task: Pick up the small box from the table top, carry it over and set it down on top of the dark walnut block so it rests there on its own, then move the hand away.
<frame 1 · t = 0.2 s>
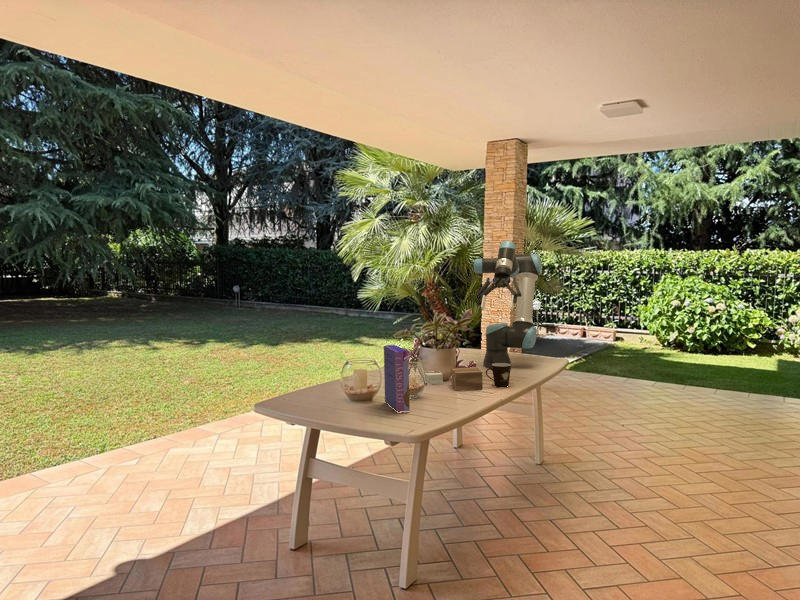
hand: (496, 308, 254), 36 cm above the table, tool tilted 35°, fingers open, 13 cm apart
cereal box: (396, 408, 222), on the table
small box: (433, 383, 266), on the table
coffee mug: (498, 386, 256), on the table
walnut block: (466, 387, 255), on the table
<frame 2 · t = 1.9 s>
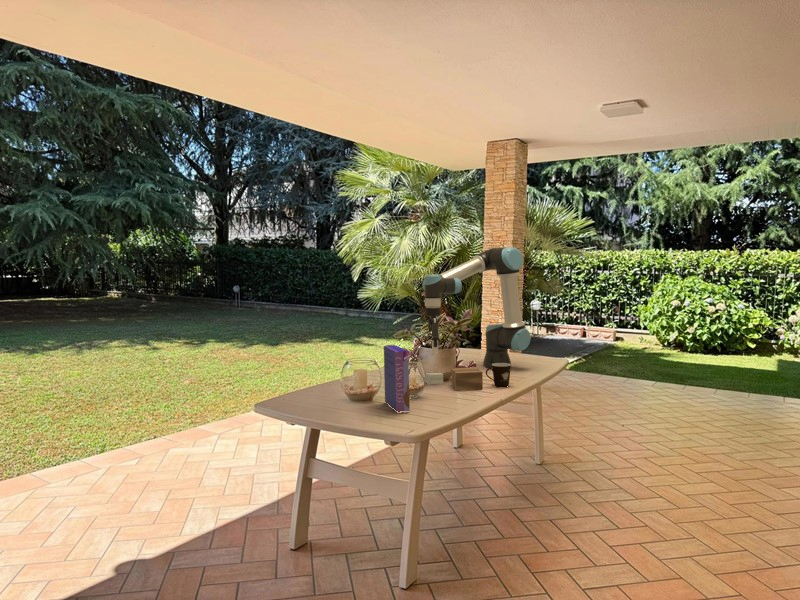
hand: (433, 351, 265), 15 cm above the table, tool pointing down, fingers open, 13 cm apart
nothing on the table moved.
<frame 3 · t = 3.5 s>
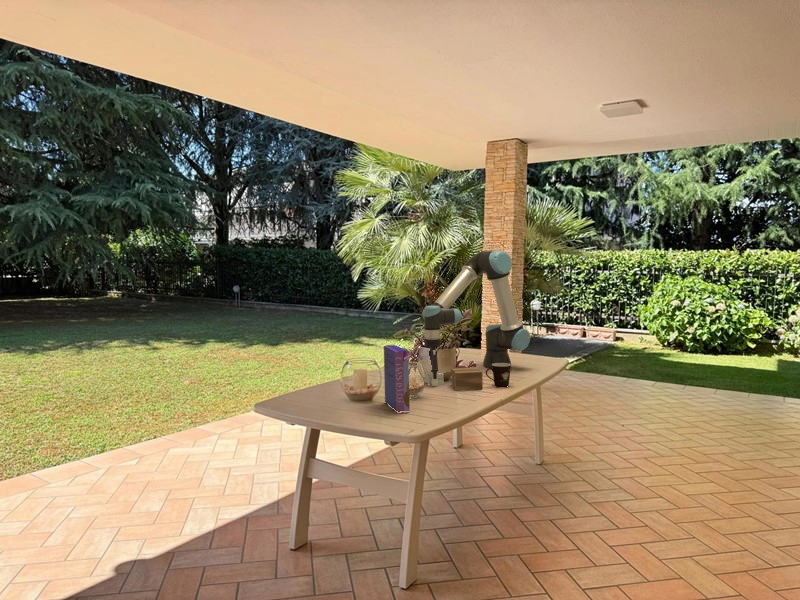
hand: (432, 382, 266), 0 cm above the table, tool pointing down, fingers open, 13 cm apart
nothing on the table moved.
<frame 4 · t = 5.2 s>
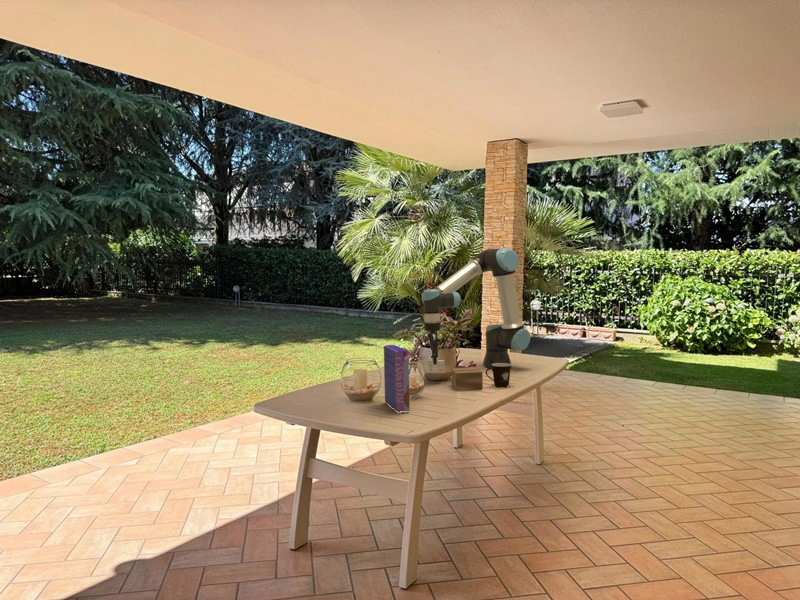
hand: (433, 369, 266), 7 cm above the table, tool pointing down, fingers closed on small box, 9 cm apart
small box: (434, 370, 266), point 6 cm above the table, touching gripper
everything else where it was.
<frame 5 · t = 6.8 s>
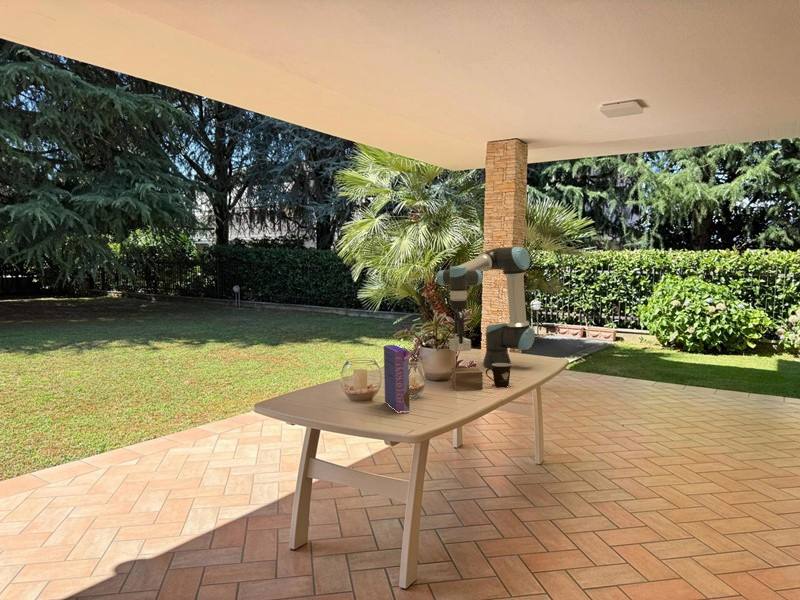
hand: (459, 349, 256), 17 cm above the table, tool pointing down, fingers closed on small box, 9 cm apart
small box: (460, 350, 256), point 17 cm above the table, touching gripper
everything else where it was.
when the fingers open (9 cm above the table, at t = 8.6 s): small box stays where it is, resting on walnut block.
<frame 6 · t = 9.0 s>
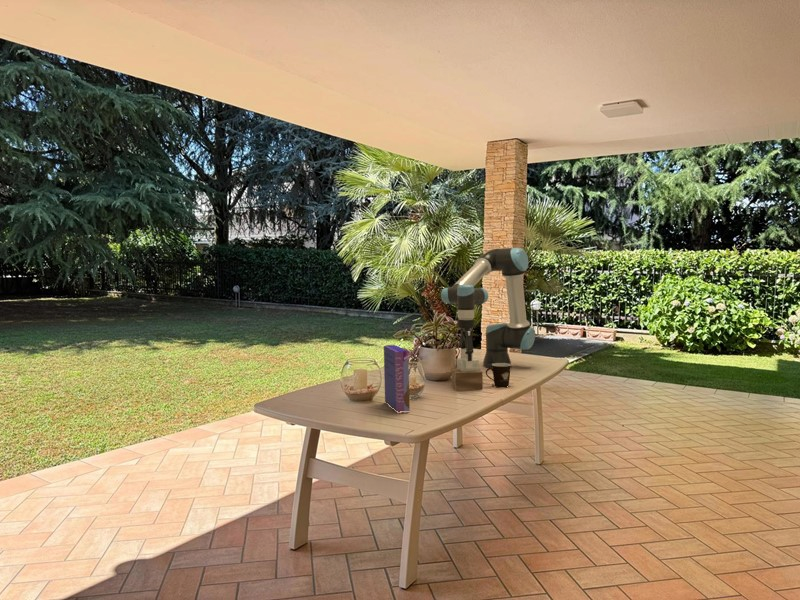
hand: (466, 365, 254), 10 cm above the table, tool pointing down, fingers open, 13 cm apart
small box: (467, 370, 255), point 8 cm above the table, touching walnut block
everything else where it was.
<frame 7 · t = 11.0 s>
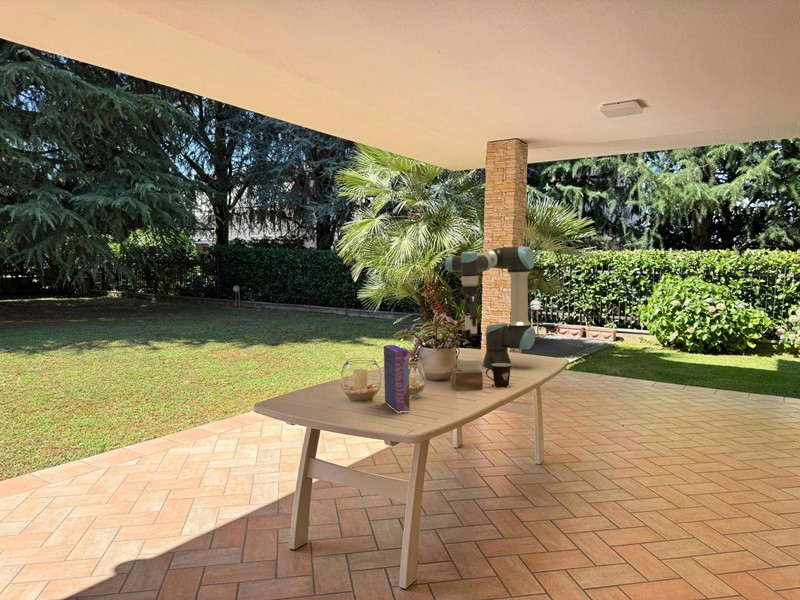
hand: (470, 331, 257), 25 cm above the table, tool pointing down, fingers open, 13 cm apart
nothing on the table moved.
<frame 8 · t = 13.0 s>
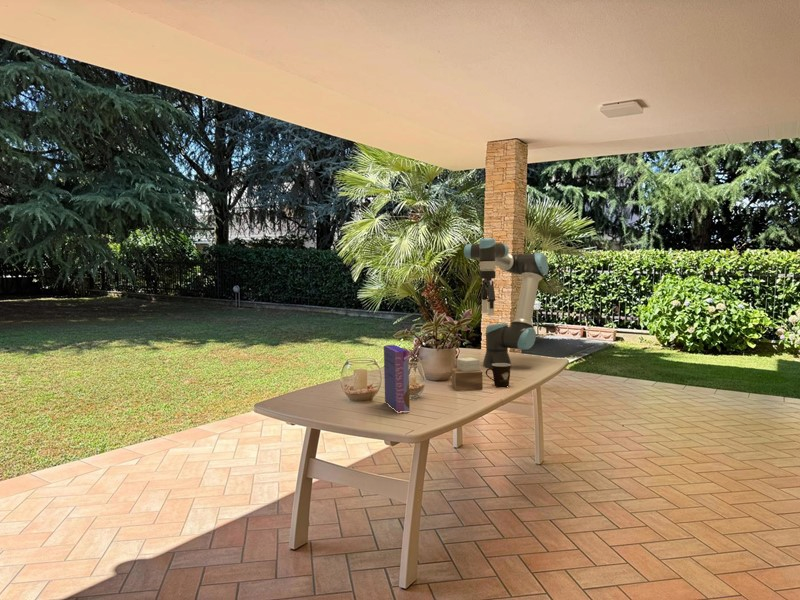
hand: (488, 314, 271), 32 cm above the table, tool pointing down, fingers open, 13 cm apart
nothing on the table moved.
at the end: small box inside the target area on the walnut block (0.5 cm from its centre), point 7.8 cm above the walnut block's base; small box tilted 0°; the gripper is holding nothing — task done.
